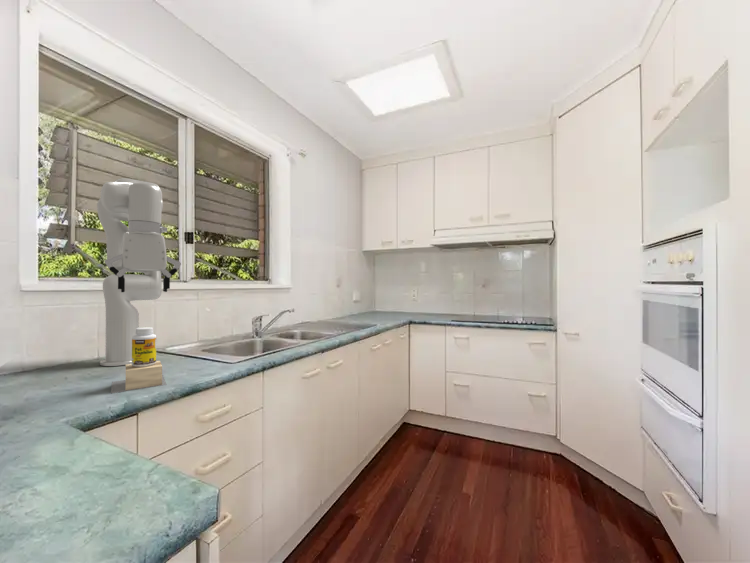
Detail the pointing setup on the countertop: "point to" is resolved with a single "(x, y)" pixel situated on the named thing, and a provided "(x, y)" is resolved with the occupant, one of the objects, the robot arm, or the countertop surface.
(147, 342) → the supplement bottle
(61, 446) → the countertop surface
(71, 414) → the countertop surface
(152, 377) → the maple block
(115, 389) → the slate tile
